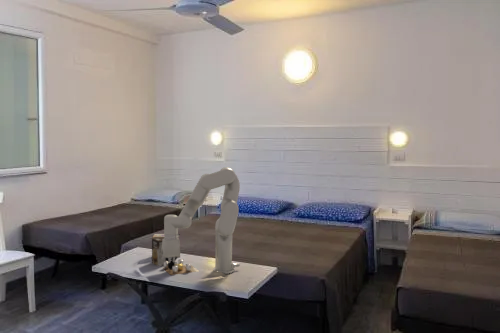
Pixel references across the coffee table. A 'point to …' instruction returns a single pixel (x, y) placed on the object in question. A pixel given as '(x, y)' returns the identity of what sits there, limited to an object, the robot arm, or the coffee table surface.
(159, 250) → the coffee box
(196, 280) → the coffee table surface
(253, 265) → the coffee table surface
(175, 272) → the spacers
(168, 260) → the robot arm
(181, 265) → the brass domed cylinder
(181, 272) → the board
